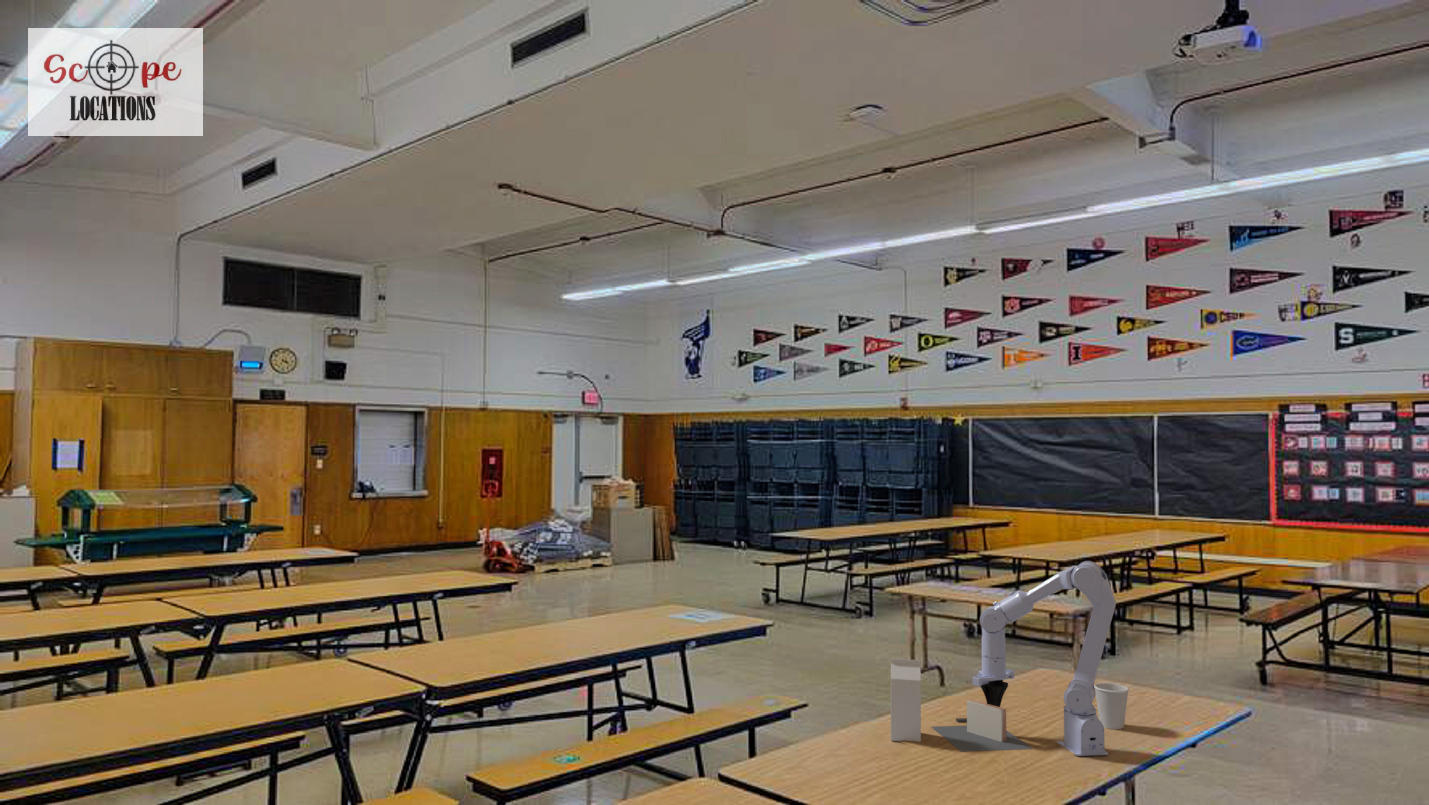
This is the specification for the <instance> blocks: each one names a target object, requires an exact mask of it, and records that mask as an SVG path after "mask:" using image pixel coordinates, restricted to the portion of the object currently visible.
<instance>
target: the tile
mask: <svg viewBox="0 0 1429 805" xmlns="http://www.w3.org/2000/svg"><path fill="white" fill-rule="evenodd" d="M966 718H967V722H966V726H967V732H970V733H974V734H977V735H980V736H984V737H987V738H990V739H994V740H997V741H1000V742H1003V741H1006V730H1007V708H1004V707H1001V706H1000V707H997V706H993V705H990V704H987V702H982V701H978V700H975V699H969V700H966Z"/></svg>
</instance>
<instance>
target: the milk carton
mask: <svg viewBox="0 0 1429 805" xmlns="http://www.w3.org/2000/svg"><path fill="white" fill-rule="evenodd" d="M921 676H922V674H921V660H918V659H901V658H891V659H890V741H892V742H904V741H906V742H907V741H909V742H922V732H921V730H922V729H921V728H922V720H921V719H922V717H921V715H922V710H921V709H922V708H921V707H922V706H921V705H922V703H921V702H922V690H921V689H922V686H921V685H922V680H921Z"/></svg>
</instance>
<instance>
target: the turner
mask: <svg viewBox="0 0 1429 805" xmlns="http://www.w3.org/2000/svg"><path fill="white" fill-rule="evenodd" d="M955 722H957V723H967V717H960V718H959V717H957V718H955Z"/></svg>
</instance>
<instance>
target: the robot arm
mask: <svg viewBox="0 0 1429 805" xmlns="http://www.w3.org/2000/svg"><path fill="white" fill-rule="evenodd" d="M1075 588H1076V589H1077V590H1079V591H1080V592H1081V593H1082V594H1083V595H1084V596H1086V598H1087V600H1088V601H1089V602H1090V603H1091V605H1092V607H1093V608H1092V611H1091V615H1090V618H1089V623H1088V626H1087V628H1086V633H1085V637H1084V640H1083V642H1082V646H1081V650H1080V655H1079V658H1078V661H1077V664H1076V668H1075V672H1074V674H1073V678H1072V680H1070V681H1069V684H1068V686H1067V689H1065V691H1064V694H1063V702H1064V706H1063V740H1058V741H1056V743H1057V744H1058V745H1060V746H1062V747H1063V748H1064V749H1067V750H1068V751H1069V752H1071V753H1073V755H1075V756H1077V757H1087V756H1089V757H1091V756H1108V755H1109V752H1107V751H1106V750H1105V749H1106V748H1105V747H1106V745H1105V728H1104V726H1103V724H1102V722H1101V721H1100V720H1099V717H1098V715H1097V708H1096V707H1095V706H1094V704H1093V701H1094V700H1095V698H1096V692H1095V688H1094V685H1095V683H1096V682H1095V681H1096V677H1097V673H1098V669H1099V666H1100V663H1101V660H1102V655H1103V651H1104V648H1105V644H1106V640H1107V637H1108V635H1109V631H1110V630H1109V629H1110V626H1111V624H1112V623H1111V622H1112V619H1113V616H1114V612H1115V609H1116V602H1117V601H1116V599H1115V596H1114V593H1113V590H1112V588H1111V584H1110V582H1109V578H1108V575H1107V573H1106V572H1105V571H1104V570H1103V569H1102V567H1101V566H1100V565H1099V564H1097V563H1096V562H1093V561H1091V560H1085V561H1081V562H1080V563H1079V564H1078V565H1077V566H1076V565H1073V566H1071V567H1068V568H1066V569H1064V570H1063V569H1062V570H1061V571H1059V572H1058V573H1056V574H1054V575H1053V576H1051V577H1050V578H1047V579H1046V580H1044V581H1043V582H1041V583H1040V584H1038V585H1036V586H1035V587H1033V588H1032V589H1030V590H1029V591H1022V590H1017V591H1015V590H1012V591H1011V592H1008V596H1006V597H1005V598H1003V599H1001V600H1000V601H999V602H998V601H995V602H993V603H992V606H989V607H987V608H986V609H985V610H983V611H982V613H981V614H980V616H979V624H980V626H981V670H978V673H977V675H975V676H972V686H975V687H979V688H980V689H981V690H982V692H983V695H984V698H985V701H986V704H990V705H993V706H997V707H1001V704H1002V701H1003V697H1004V694H1005V693H1006V691H1007V689H1008V688H1009V682H1006V681H1004V680H1008V679H1011V680H1013V679H1015V670H1013V669H1010V668H1009V669H1008V668H1007V669H1006V664H1007V663H1006V658H1007V657H1006V655H1007V654H1006V648H1007V647H1006V630H1005V627H1006V625H1007V624H1012V623H1014V622H1016V621H1017V620H1019V619H1021V618H1022V617H1024V616H1026V615H1028V614H1029V613H1032V612H1033V610H1034V605H1035V604H1036V603H1038V602H1040V601H1042V600H1043V599H1044V598H1047V597H1049V596H1051V595H1052V594H1054V593H1057V592H1058V591H1060V590H1074V589H1075Z"/></svg>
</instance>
